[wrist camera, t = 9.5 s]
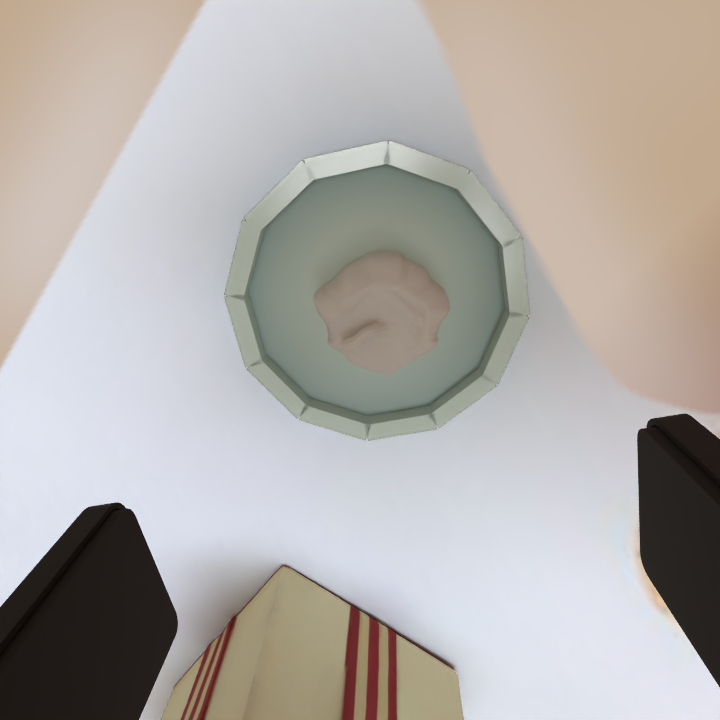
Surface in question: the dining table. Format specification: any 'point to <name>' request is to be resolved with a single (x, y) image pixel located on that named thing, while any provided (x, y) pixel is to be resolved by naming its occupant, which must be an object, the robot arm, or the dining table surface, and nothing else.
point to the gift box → (312, 665)
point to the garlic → (382, 311)
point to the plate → (350, 243)
